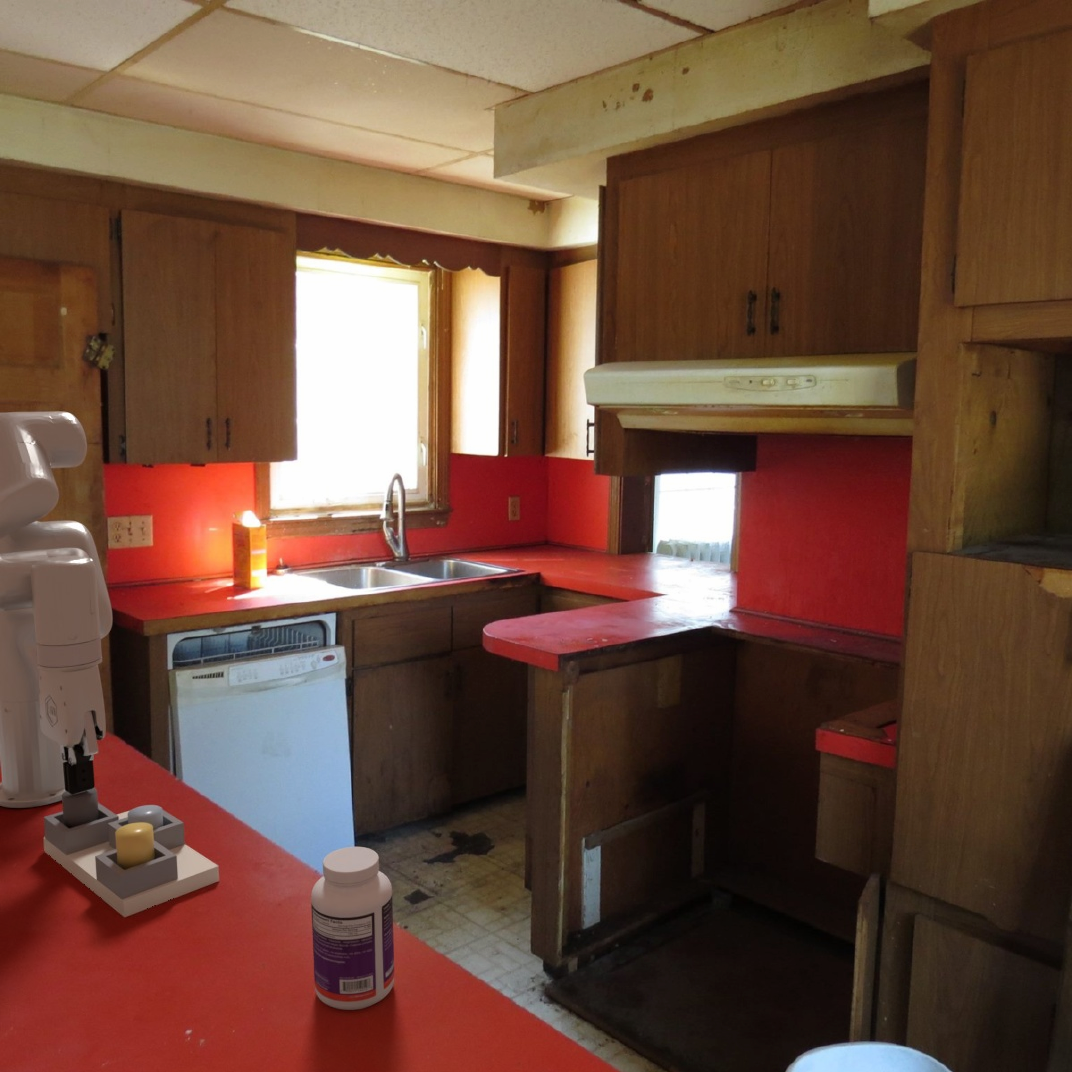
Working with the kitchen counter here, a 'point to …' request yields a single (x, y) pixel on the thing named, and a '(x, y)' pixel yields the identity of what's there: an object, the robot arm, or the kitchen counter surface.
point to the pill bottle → (352, 930)
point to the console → (137, 887)
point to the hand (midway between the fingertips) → (80, 789)
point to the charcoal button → (80, 808)
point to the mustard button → (134, 844)
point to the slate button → (147, 815)
